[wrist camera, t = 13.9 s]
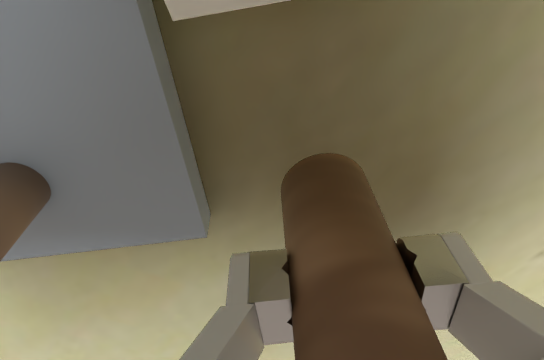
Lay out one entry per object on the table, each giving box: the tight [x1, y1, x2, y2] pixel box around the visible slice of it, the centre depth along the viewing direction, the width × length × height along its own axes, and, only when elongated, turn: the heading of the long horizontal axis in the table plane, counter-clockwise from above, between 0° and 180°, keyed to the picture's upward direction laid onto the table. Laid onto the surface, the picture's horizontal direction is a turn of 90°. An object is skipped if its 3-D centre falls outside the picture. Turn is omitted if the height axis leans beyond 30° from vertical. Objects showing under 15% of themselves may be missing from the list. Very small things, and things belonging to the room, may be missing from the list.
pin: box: [281, 153, 447, 360], centre depth 8 cm, size 3×3×9 cm
